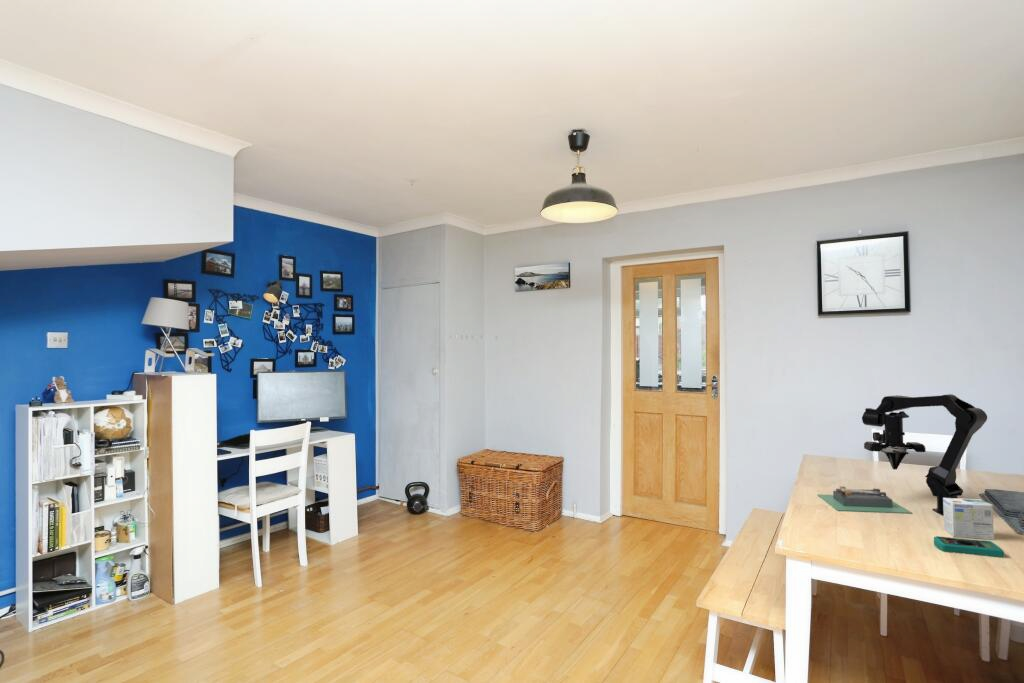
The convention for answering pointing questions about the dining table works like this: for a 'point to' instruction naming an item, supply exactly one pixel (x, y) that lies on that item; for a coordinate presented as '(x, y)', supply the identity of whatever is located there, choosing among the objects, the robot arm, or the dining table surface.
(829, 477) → the dining table surface
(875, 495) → the grey flat long bar
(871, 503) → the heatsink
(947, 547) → the digital multimeter
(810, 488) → the dining table surface
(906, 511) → the board
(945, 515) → the light bulb box
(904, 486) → the dining table surface
